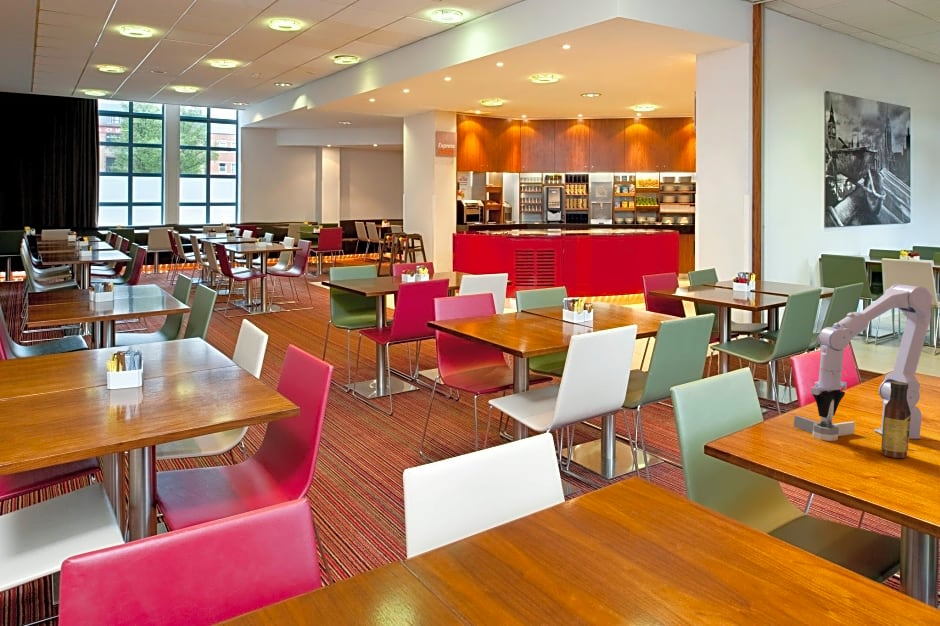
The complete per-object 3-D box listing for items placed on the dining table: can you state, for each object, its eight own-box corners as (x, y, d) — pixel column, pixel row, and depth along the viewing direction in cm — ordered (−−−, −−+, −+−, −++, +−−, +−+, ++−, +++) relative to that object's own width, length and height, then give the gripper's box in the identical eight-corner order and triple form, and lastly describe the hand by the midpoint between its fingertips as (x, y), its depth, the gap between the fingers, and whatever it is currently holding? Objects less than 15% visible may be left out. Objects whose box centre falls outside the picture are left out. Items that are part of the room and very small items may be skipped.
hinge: (826, 441, 205) (827, 429, 205) (786, 427, 218) (787, 416, 218) (862, 436, 211) (863, 424, 210) (821, 423, 224) (822, 412, 223)
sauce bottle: (911, 460, 191) (918, 386, 188) (885, 458, 192) (892, 385, 189) (901, 452, 197) (908, 380, 194) (876, 450, 198) (883, 379, 195)
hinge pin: (828, 424, 210) (830, 397, 209) (834, 427, 207) (836, 400, 206) (818, 424, 210) (820, 397, 209) (824, 427, 207) (826, 400, 206)
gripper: (832, 364, 214) (828, 409, 216) (802, 369, 206) (798, 415, 208) (855, 369, 208) (851, 414, 210) (826, 374, 200) (821, 422, 202)
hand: (826, 415), depth 208 cm, fingers closed on hinge pin, 3 cm apart
